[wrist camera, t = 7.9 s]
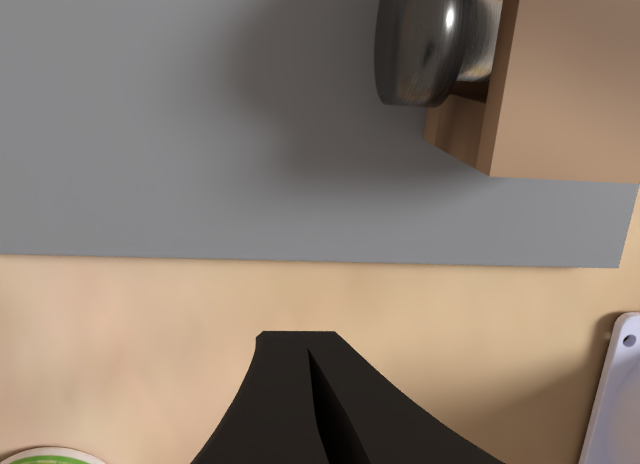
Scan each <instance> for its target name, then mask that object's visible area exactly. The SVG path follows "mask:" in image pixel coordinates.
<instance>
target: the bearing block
mask: <svg viewBox="0 0 640 464" xmlns="http://www.w3.org/2000/svg"><path fill="white" fill-rule="evenodd" d="M423 140H425V141H427V142H428V143H430V144H432V145H434V146H435V147H437V148H439V149H441V150H443V151H444V152H446V153H448V154H450V155H452V156H453V157H455V158H457V159H459V160H461V161H462V162H464V163H466V164H468V165H470V166H471V167H473V168H475V169H477V170H479V171H480V172H482V173H484V174H486V175H488V176H489V177H509V178H530V179H550V180H571V181H592V182H612V183H633V184H640V0H503V3H502V9H501V15H500V21H499V28H498V34H497V40H496V46H495V52H494V58H493V64H492V71H491V77H490V83H484V82H470V81H457V80H456V82H455V84H454V86H453V88H452V91H451V92H450V94H449V96H448V97H447V99H446V100H445V101H444V102H443V103H442V104H441V105H440V106H438V107H436V108H427V112H426V120H425V127H424V135H423Z"/></svg>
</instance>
